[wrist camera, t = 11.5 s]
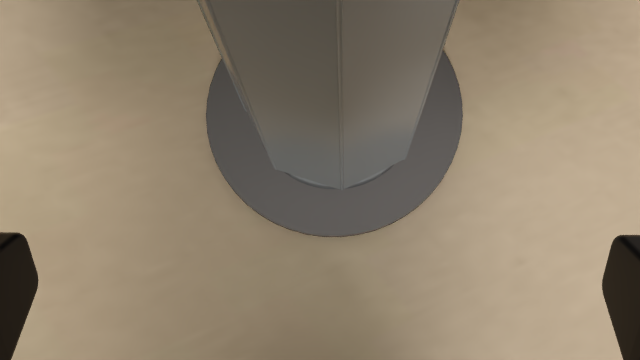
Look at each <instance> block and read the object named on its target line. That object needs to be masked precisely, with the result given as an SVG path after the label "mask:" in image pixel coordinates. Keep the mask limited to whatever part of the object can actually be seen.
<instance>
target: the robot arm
mask: <svg viewBox="0 0 640 360" xmlns="http://www.w3.org/2000/svg"><path fill="white" fill-rule="evenodd" d="M37 287H38V274H37V270H36V267H35V264H34V261H33V258H32V255H31V251H30V248H29V245H28V242H27V240H26V238H25V237H24V235H22V234H20V233H3V232H0V360H11V359H12V356H13V353H14V350H15V348H16V345H17V342H18V340H19V337H20V334H21V332H22V329H23V326H24V324H25V321H26V318H27V316H28V313H29V310H30V308H31V305H32V302H33V299H34V297H35V294H36V291H37ZM602 290H603V295H604V299H605V302H606V305H607V308H608V312H609V315H610V318H611V321H612V325H613V328H614V331H615V334H616V338H617V341H618V344H619V347H620V351H621V354H622V357H623V360H640V235H619V236H617V237H616V238H615V239H614V240H613V242H612V245H611V249H610V253H609V256H608V260H607V264H606V268H605V272H604V275H603V280H602Z"/></svg>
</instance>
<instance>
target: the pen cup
mask: <svg viewBox="0 0 640 360" xmlns="http://www.w3.org/2000/svg"><path fill="white" fill-rule="evenodd" d="M197 2H198V4H199V6H200V8H201V11H202V13H203V15H204V18H205V20H206V22H207V25H208V27H209V29H210V32H211V34H212V36H213V38H214V41H215V43H216V45H217V48H218V50H219V52H220V55H221V57H222V59H223V61H224V64H225V66H226V68H227V71H228V73H229V75H230V78H231V80H232V82H233V85H234V87H235V89H236V91H237V94H238V96H239V98H240V101H241V103H242V105H243V108H244V110H245V112H247V114H248V116H249V118H250V120H251V122H252V124H253V126H254V128H255V130H256V132H257V134H258V136H259V138H260V140H261V143H262V145H263V147H264V149H265V151H266V152H267V154H268V156H269V158H270V160H271V163H272V165H273V168H274V169H275V170H279V171H282V172H285V173H286V174H287V175H289V176H290V177H292V178H294V179H296V180H297V181H299V182H302V183H304V184H307V185H309V186H313V187H317V188H323V189H340V190H344V189H346V188H353V187H357V186H360V185H363V184H366V183H368V182H371V181H373V180H375V179H376V178H378V177H380V176H381V175H383V174H384V173H385V172H387V171H388V170H389V169H390V168H391V167H392V166H393V165H394V164H396V163H398V162H400V161H402V160H405V159H406V157H407V154H408V151H409V148H410V145H411V142H412V139H413V136H414V133H415V130H416V127H417V125H418V122H419V119H420V116H421V113H422V110H423V107H424V104H425V101H426V98H427V95H428V92H429V89H430V86H431V83H432V80H433V77H434V74H435V71H436V68H437V65H438V62H439V59H440V56H441V53H442V51H443V48H444V45H445V42H446V39H447V36H448V33H449V30H450V27H451V24H452V21H453V18H454V15H455V12H456V9H457V6H458V3H459V0H197Z"/></svg>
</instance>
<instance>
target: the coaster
mask: <svg viewBox="0 0 640 360" xmlns="http://www.w3.org/2000/svg"><path fill="white" fill-rule="evenodd" d="M462 117H463V114H462V99H461V93H460V88H459V84H458V81H457V78H456V75H455V72H454V69H453V67H452V65H451V63H450V61H449V59H448V57H447V56H446V54H445V53H444V51H442V53H441V56H440V59H439V62H438V65H437V68H436V71H435V74H434V77H433V80H432V83H431V86H430V89H429V92H428V95H427V98H426V101H425V104H424V107H423V110H422V113H421V116H420V119H419V122H418V125H417V127H416V130H415V133H414V136H413V139H412V142H411V145H410V148H409V151H408V154H407V157H406V159H405V160H402V161H400V162H398V163H396V164H394V165H393V166H392V167H391V168H390V169H389V170H388V171H387V172H385V173H384V174H383V175H381V176H380V177H378V178H376V179H375V180H373V181H371V182H368V183H366V184H363V185H360V186H357V187H353V188H346V189H344V190H340V189H323V188H317V187H313V186H309V185H307V184H304V183H302V182H299V181H297V180H296V179H294V178H292V177H290V176H289V175H287V174H286V173H285V172H282V171H279V170H275V169H274V168H273V165H272V163H271V160H270V158H269V156H268V154H267V152H266V151H265V149H264V147H263V145H262V143H261V140H260V138H259V136H258V134H257V132H256V130H255V128H254V126H253V124H252V122H251V120H250V118H249V116H248V114H247V112H245V110H244V108H243V105H242V103H241V101H240V98H239V96H238V94H237V91H236V89H235V87H234V85H233V82H232V80H231V78H230V75H229V73H228V71H227V68H226V66H225V64H224V61H223V59H221V61H220V63H219V65H218V67H217V69H216V71H215V74H214V77H213V79H212V82H211V85H210V90H209V95H208V99H207V111H206V121H207V133H208V138H209V142H210V147H211V150H212V153H213V155H214V158H215V161H216V163H217V165H218V167H219V169H220V171H221V172H222V174H223V176H224V178H225V179H226V180H227V182H228V183H229V185H230V186H231V187H232V189H233V190H234V191H235V193H236V194H237V195H238V196H239V197H240V198H241V199H242V200H243V201H244V202H245V203H246V204H247V205H248V206H249V207H251V208H252V209H253V210H255V211H256V212H257V213H258V214H260V215H261V216H263V217H265V218H266V219H268V220H270V221H271V222H273V223H275V224H277V225H280V226H282V227H285V228H287V229H289V230H293V231H296V232H300V233H303V234H308V235H315V236H322V237H344V236H352V235H359V234H363V233H367V232H371V231H375V230H377V229H380V228H382V227H385V226H387V225H390V224H392V223H394V222H395V221H397V220H399V219H401V218H403V217H404V216H406V215H407V214H409V213H410V212H411V211H413V210H414V209H415V208H417V207H418V206H419V205H420V204H421V203H422V202H423V201H424V200H425V199H426V198H427V197H428V196H429V195H430V194H431V193H432V192H433V191H434V189H435V188H436V187H437V186H438V184H439V183H440V182H441V180H442V179H443V177H444V175H445V173H446V172H447V170H448V168H449V166H450V165H451V163H452V160H453V158H454V155H455V153H456V150H457V147H458V143H459V139H460V135H461V128H462Z"/></svg>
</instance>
